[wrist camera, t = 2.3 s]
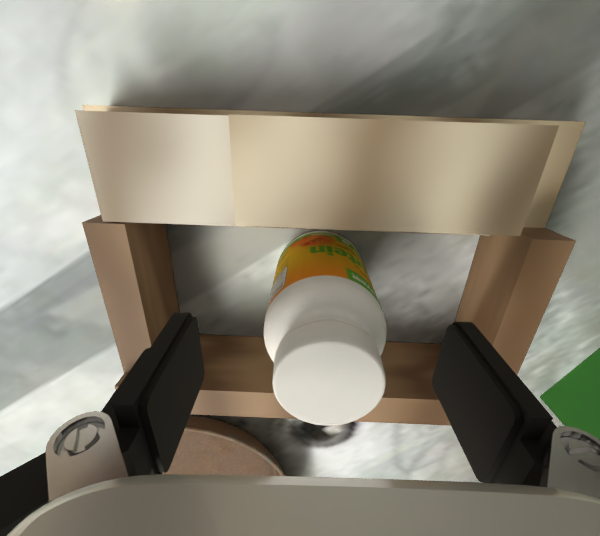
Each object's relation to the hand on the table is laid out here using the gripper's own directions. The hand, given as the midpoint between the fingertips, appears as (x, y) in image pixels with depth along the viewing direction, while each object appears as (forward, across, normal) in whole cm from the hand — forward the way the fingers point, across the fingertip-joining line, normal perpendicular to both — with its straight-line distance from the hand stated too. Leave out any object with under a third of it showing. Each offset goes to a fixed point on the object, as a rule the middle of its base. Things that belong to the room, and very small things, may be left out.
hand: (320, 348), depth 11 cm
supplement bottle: (+9, 0, +1) cm, 9 cm away
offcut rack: (+8, 0, +1) cm, 8 cm away
